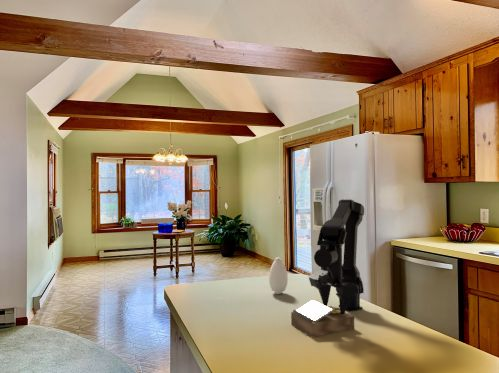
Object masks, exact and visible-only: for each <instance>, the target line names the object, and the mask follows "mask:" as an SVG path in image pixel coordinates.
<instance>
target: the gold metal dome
mask: <svg viewBox="0 0 499 373" xmlns="http://www.w3.org/2000/svg"><path fill="white" fill-rule="evenodd" d="M329 308H331V309H332V310H333V311H332V312H330V313H329V314H332V315H337V314H341V312H340V307H334V306H332V307H329Z"/></svg>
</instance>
